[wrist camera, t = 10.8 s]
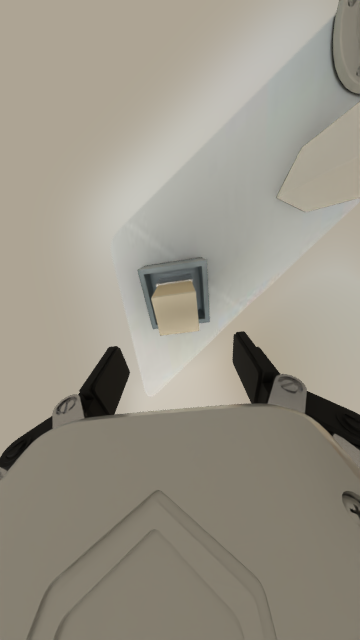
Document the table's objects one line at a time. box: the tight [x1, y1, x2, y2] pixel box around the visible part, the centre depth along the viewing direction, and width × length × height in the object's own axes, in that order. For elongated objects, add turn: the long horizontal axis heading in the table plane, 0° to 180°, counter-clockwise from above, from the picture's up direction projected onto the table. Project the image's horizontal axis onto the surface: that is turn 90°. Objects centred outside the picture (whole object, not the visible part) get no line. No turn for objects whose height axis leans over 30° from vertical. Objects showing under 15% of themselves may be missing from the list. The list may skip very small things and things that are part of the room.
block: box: [156, 274, 193, 287], centre depth 27 cm, size 6×6×5 cm
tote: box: [138, 257, 210, 329], centre depth 27 cm, size 11×11×6 cm
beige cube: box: [151, 281, 199, 336], centre depth 21 cm, size 6×6×6 cm
